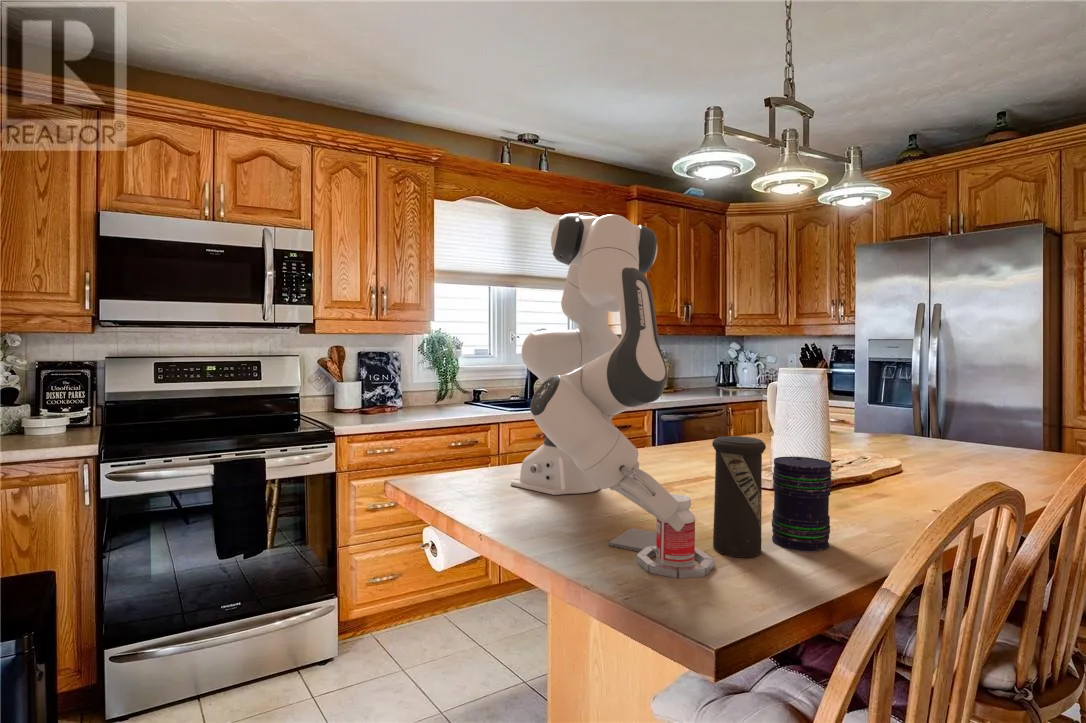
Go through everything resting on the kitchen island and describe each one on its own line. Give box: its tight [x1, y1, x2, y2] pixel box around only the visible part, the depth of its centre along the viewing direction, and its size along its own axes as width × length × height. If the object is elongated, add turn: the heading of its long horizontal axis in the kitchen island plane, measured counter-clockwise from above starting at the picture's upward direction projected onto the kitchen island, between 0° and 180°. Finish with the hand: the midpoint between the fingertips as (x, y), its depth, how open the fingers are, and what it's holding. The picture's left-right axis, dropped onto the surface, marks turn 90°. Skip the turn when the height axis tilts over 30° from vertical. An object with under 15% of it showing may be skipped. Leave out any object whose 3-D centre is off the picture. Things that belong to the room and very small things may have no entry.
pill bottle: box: [655, 494, 696, 567], centre depth 102 cm, size 6×6×11 cm
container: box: [711, 435, 767, 558], centre depth 109 cm, size 9×9×20 cm
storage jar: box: [771, 456, 832, 553], centre depth 113 cm, size 10×10×15 cm
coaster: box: [608, 527, 657, 553], centre depth 113 cm, size 10×10×1 cm
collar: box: [636, 546, 715, 579], centre depth 102 cm, size 12×12×1 cm
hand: (666, 518), depth 102 cm, fingers open, 8 cm apart
